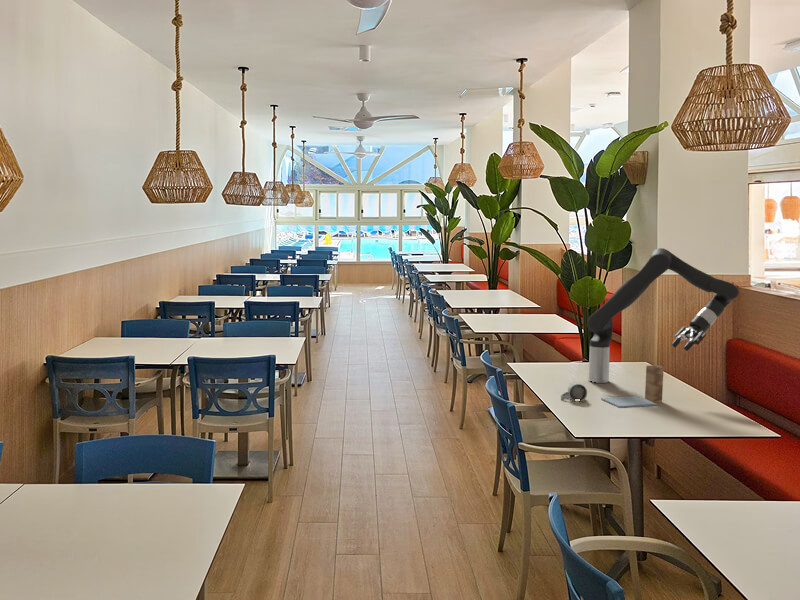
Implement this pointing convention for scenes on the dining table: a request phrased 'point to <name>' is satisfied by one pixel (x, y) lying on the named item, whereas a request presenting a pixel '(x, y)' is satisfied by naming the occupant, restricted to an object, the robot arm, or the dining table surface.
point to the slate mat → (629, 401)
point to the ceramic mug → (575, 392)
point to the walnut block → (654, 383)
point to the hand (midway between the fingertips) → (679, 347)
